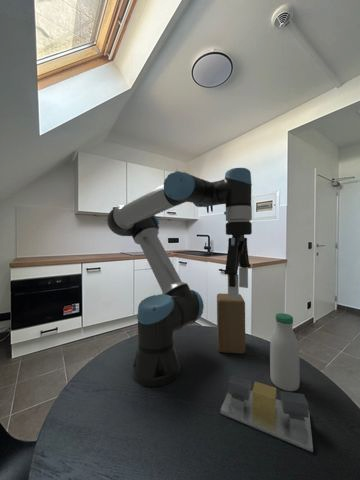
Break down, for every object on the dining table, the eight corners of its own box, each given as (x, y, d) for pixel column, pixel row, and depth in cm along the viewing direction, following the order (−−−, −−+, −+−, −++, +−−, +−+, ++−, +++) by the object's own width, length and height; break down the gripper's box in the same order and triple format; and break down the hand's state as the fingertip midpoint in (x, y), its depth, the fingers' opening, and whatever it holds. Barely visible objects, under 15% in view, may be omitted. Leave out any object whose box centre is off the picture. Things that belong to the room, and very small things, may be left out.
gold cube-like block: (252, 412, 49) (252, 391, 49) (255, 400, 52) (254, 381, 52) (275, 421, 46) (275, 399, 46) (276, 408, 50) (276, 388, 50)
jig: (220, 413, 50) (220, 389, 50) (231, 387, 58) (231, 366, 58) (312, 452, 40) (312, 423, 40) (309, 414, 49) (308, 389, 49)
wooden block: (217, 339, 86) (216, 292, 85) (241, 341, 84) (241, 293, 84) (218, 353, 76) (217, 300, 75) (245, 355, 74) (245, 300, 74)
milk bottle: (304, 394, 55) (303, 321, 55) (273, 390, 57) (273, 319, 57) (294, 375, 63) (293, 311, 63) (267, 372, 65) (267, 310, 64)
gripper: (235, 224, 73) (236, 282, 74) (212, 219, 52) (213, 302, 52) (257, 223, 70) (258, 284, 70) (242, 217, 48) (243, 306, 48)
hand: (238, 292), depth 61 cm, fingers open, 13 cm apart
